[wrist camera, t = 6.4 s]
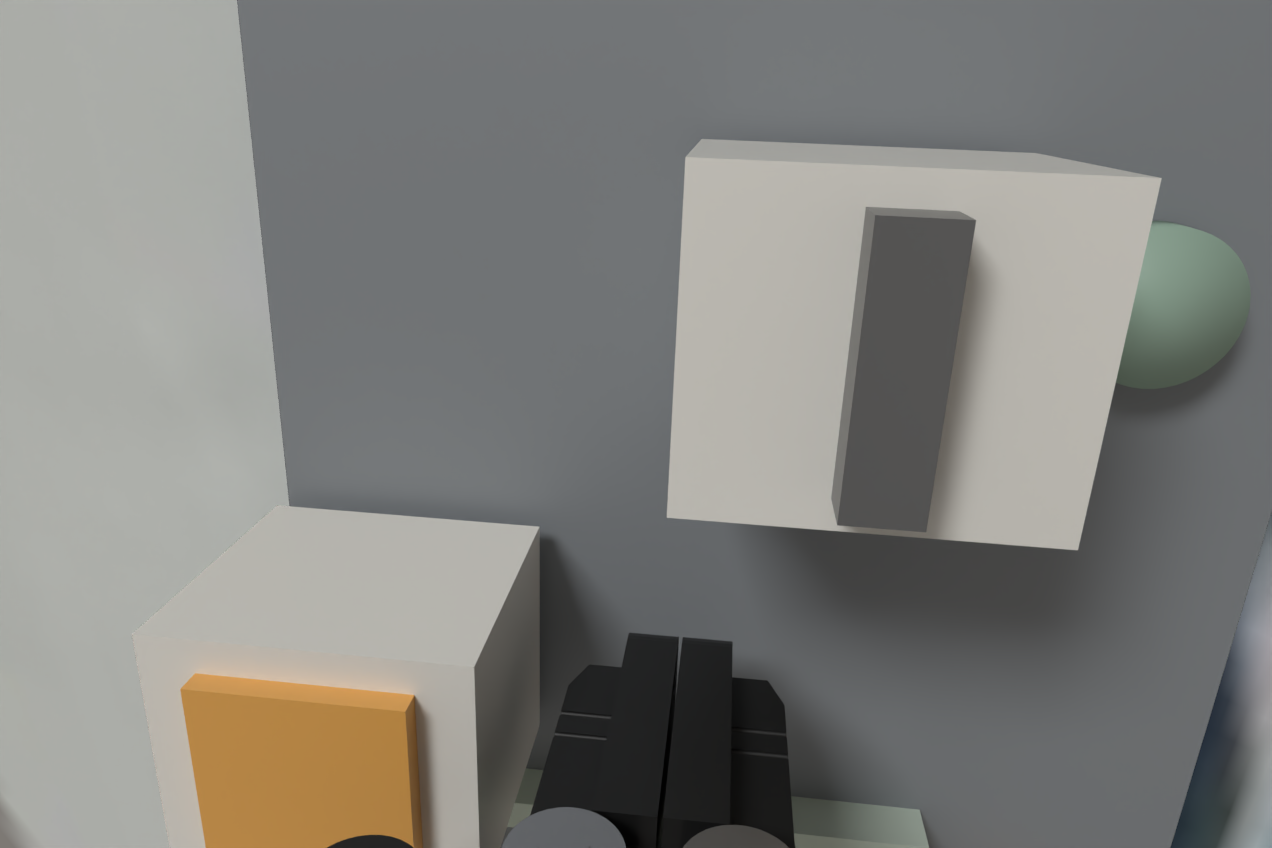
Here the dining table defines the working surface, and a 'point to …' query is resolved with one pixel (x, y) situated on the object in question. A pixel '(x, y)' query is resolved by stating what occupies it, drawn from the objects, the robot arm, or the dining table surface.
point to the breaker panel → (645, 359)
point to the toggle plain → (900, 337)
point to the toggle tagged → (347, 683)
